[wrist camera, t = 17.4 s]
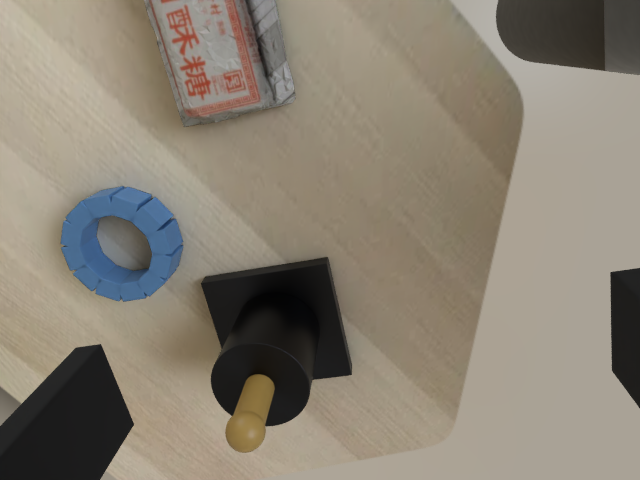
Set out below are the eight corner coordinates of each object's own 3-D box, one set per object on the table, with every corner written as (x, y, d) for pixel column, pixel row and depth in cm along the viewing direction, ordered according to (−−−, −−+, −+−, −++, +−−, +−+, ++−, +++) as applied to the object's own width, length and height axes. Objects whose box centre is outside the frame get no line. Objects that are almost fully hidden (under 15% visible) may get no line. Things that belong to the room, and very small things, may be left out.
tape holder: (328, 256, 47) (307, 360, 31) (352, 366, 51) (344, 504, 36) (205, 276, 49) (130, 383, 33) (238, 380, 53) (184, 517, 37)
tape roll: (163, 178, 45) (149, 187, 43) (195, 278, 49) (184, 292, 46) (63, 197, 47) (43, 207, 44) (101, 293, 50) (85, 307, 48)
